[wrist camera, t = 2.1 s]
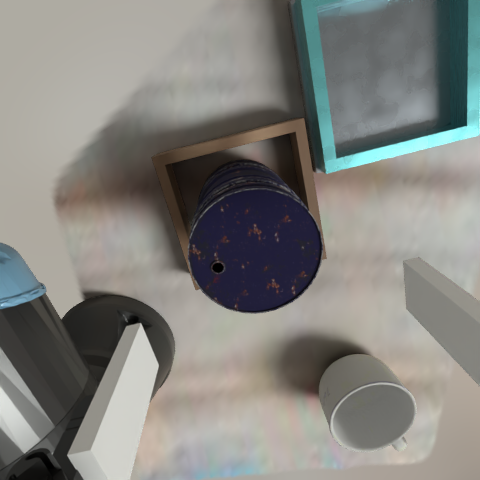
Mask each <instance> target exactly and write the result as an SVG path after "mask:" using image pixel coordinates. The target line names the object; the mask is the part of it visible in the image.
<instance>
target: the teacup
mask: <svg viewBox="0 0 480 480" xmlns="http://www.w3.org/2000/svg"><path fill="white" fill-rule="evenodd" d="M319 397H320V402H321V405H322V408H323V411H324V414H325V416H326V419H327V422H328V424H329V428H330V432H331V434H332V437H333V438H334V440H335V441H336V442H337V443H338V444H339V445H340V446H343V447H344V448H346V449H348V450H351V451H355V452H372V451H376V450H380V449H383V448H385V447H387V446H390V445H391V444H392V446H393V447H394V448H395V449H396V450H397V451H402V450H404V449H405V448H406V447H407V442H406V440H405V438H404V437H403V436H404V435H405V434H406V433H407V432H408V430H409V429H410V428H411V426H412V425H413V422H414V420H415V417H416V411H417V408H416V402H415V399H414V397H413V395H412V394H411V393H410V391H409V390H408V389H406V388H405V387H404V385H403V384H402V383H401V382H400V380H399V379H398V378H397V376H396V375H395V374H394V373H393V372H392V371H391V369H390V368H389V367H388V366H387V365H386V364H384V363H383V362H382V361H380V360H379V359H377V358H375V357H373V356H370V355H365V354H353V355H348V356H345V357H342V358H340V359H338V360H337V361H335V362H334V363H332V364H331V365H330V366H329V367H328V368H327V369H326V371H325V372H324V374H323V375H322V378H321V380H320V384H319Z"/></svg>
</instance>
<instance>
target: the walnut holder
mask: <svg viewBox="0 0 480 480" xmlns="http://www.w3.org/2000/svg"><path fill="white" fill-rule="evenodd" d="M288 133H289V135H290V140H291V146H292V151H293V157H294V163H295V168H296V174H297V180H298V185H299V191H300V196H301V201H302V202H303V203H304V204H305V205H306V207H307V209H308V210H309V212H310V213H311V214H312V215H313V217H314V218H315V220H316V222H317V224H318V226H319V229H320V232H321V235H322V241H323V256H322V260H323V259H327V258H326V251H325V245H324V239H323V233H322V227H321V220H320V214H319V208H318V202H317V195H316V189H315V183H314V177H313V170H312V164H311V158H310V152H309V145H308V139H307V133H306V127H305V120H304V118H293V119H289V120H286V121H282V122H278V123H274V124H270V125H266V126H262V127H258V128H255V129H251V130H247V131H243V132H239V133H235V134H231V135H227V136H224V137H220V138H216V139H212V140H208V141H204V142H200V143H196V144H193V145H189V146H185V147H181V148H177V149H173V150H169V151H165V152H162V153H158V154H156V155H154V156H153V157H151V158H152V161H153V164H154V167H155V170H156V173H157V176H158V179H159V182H160V185H161V188H162V191H163V194H164V197H165V200H166V203H167V206H168V209H169V212H170V215H171V218H172V221H173V224H174V227H175V230H176V233H177V236H178V239H179V242H180V245H181V248H182V251H183V254H184V257H185V260H186V263H187V266H188V269H189V272H190V275H191V278H192V281H193V284H194V287H195V290H198V289H200V288H199V287H198V285H197V284H196V282H195V280H194V278H193V276H192V274H191V271H190V268H189V262H188V244H189V239H190V230H191V226H190V223H189V219H188V216H187V213H186V210H185V207H184V203H183V200H182V197H181V194H180V191H179V188H178V184H177V181H176V178H175V175H174V172H173V168H172V165H171V163H175V162H179V161H182V160H186V159H190V158H194V157H198V156H202V155H206V154H210V153H214V152H218V151H221V150H225V149H229V148H233V147H237V146H241V145H245V144H249V143H253V142H257V141H260V140H264V139H268V138H272V137H276V136H280V135H284V134H288Z"/></svg>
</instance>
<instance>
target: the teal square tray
mask: <svg viewBox="0 0 480 480" xmlns="http://www.w3.org/2000/svg"><path fill="white" fill-rule="evenodd" d="M288 7H289V13H290V20H291V26H292V32H293V39H294V45H295V51H296V58H297V64H298V70H299V77H300V83H301V89H302V96H303V102H304V108H305V114H306V121H307V127H308V133H309V140H310V146H311V152H312V159H313V165H314V171H315V172H316V173H320V172H324V173H326V174H327V173H331V172H335V171H339V170H343V169H347V168H351V167H355V166H359V165H363V164H367V163H370V162H374V161H378V160H382V159H386V158H390V157H394V156H398V155H402V154H406V153H410V152H414V151H418V150H422V149H426V148H430V147H434V146H438V145H442V144H446V143H450V142H454V141H458V140H462V139H466V138H470V137H474V136H478V135H479V119H480V0H290V2H289V3H288Z"/></svg>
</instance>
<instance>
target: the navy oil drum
mask: <svg viewBox="0 0 480 480" xmlns="http://www.w3.org/2000/svg"><path fill="white" fill-rule="evenodd" d="M322 256H323V241H322V235H321V232H320V229H319V226H318V224H317V222H316V220H315V218H314V217H313V215H312V214H311V213H310V212H309V210H308V209H307V207H306V205H305V204H304V203H303V202H302V201H301V199H300V198H299V197H298V196H297V195H296V194H295V192H294V191H293V190H291V189H290V188H289V187H288V186H287V184H286V183H285V182H284V181H283V180H282V179H281V178H280V177H279V176H278V175H277V174H276V173H275V172H274V171H272V170H271V169H269V168H268V167H266V166H265V165H263V164H261V163H258V162H256V161H251V160H235V161H232V162H228V163H226V164H224V165H222V166H220V167H219V168H217V169H216V170H215V171H214V172H213V173H212V174H211V175H210V176H209V178H208V179H207V181H206V182H205V184H204V186H203V188H202V190H201V193H200V196H199V200H198V204H197V209H196V212H195V214H194V217H193V222H192V225H191V230H190V239H189V244H188V262H189V268H190V271H191V274H192V276H193V278H194V280H195V282H196V284H197V285H198V287H199V288H200V289H201V291H202V292H203V293H204V294H205V295H206V296H207V297H208V298H209V299H211V300H212V301H214V302H215V303H217V304H218V305H220V306H222V307H224V308H226V309H230V310H233V311H236V312H242V313H265V312H269V311H273V310H276V309H279V308H282V307H284V306H286V305H288V304H290V303H291V302H293V301H294V300H296V299H297V298H298V297H300V296H301V295H302V294H303V293H304V292H305V291H306V290H307V289H308V288H309V286H310V285H311V284H312V282H313V281H314V279H315V277H316V275H317V273H318V271H319V268H320V265H321V262H322Z"/></svg>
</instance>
